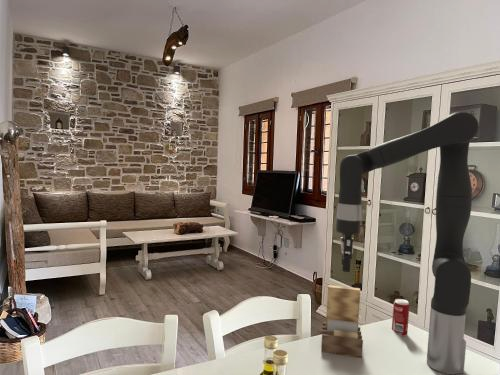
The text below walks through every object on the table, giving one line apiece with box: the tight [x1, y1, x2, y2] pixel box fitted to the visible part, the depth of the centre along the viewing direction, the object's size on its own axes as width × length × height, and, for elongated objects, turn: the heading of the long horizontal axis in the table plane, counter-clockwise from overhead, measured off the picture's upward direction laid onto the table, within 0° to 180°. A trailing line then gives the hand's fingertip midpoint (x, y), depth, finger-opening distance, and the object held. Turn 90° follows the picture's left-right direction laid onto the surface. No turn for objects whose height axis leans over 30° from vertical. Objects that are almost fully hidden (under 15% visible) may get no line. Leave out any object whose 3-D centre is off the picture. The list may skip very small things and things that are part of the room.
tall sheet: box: [325, 284, 361, 331], centre depth 121 cm, size 10×2×18 cm, turn 78°
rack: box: [320, 321, 364, 359], centre depth 118 cm, size 12×11×6 cm
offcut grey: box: [327, 319, 357, 333], centre depth 118 cm, size 9×2×8 cm, turn 78°
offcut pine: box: [334, 330, 358, 339], centre depth 115 cm, size 7×2×6 cm, turn 78°
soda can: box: [391, 298, 410, 338], centre depth 133 cm, size 5×5×12 cm
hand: (345, 268), depth 120 cm, fingers open, 8 cm apart
